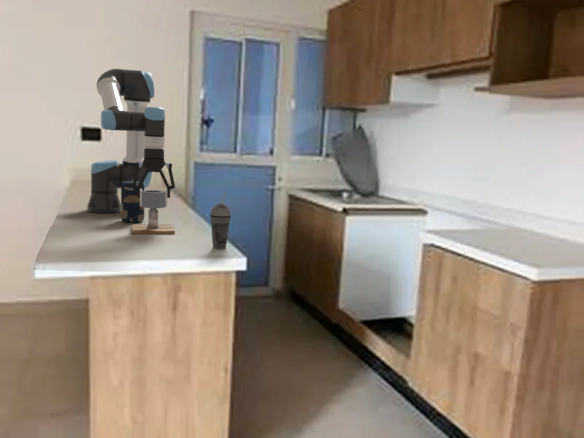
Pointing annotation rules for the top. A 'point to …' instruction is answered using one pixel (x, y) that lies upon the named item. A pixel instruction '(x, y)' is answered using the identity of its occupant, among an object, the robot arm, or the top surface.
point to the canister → (131, 203)
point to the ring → (153, 199)
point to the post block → (152, 225)
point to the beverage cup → (220, 225)
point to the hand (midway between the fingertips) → (153, 206)
